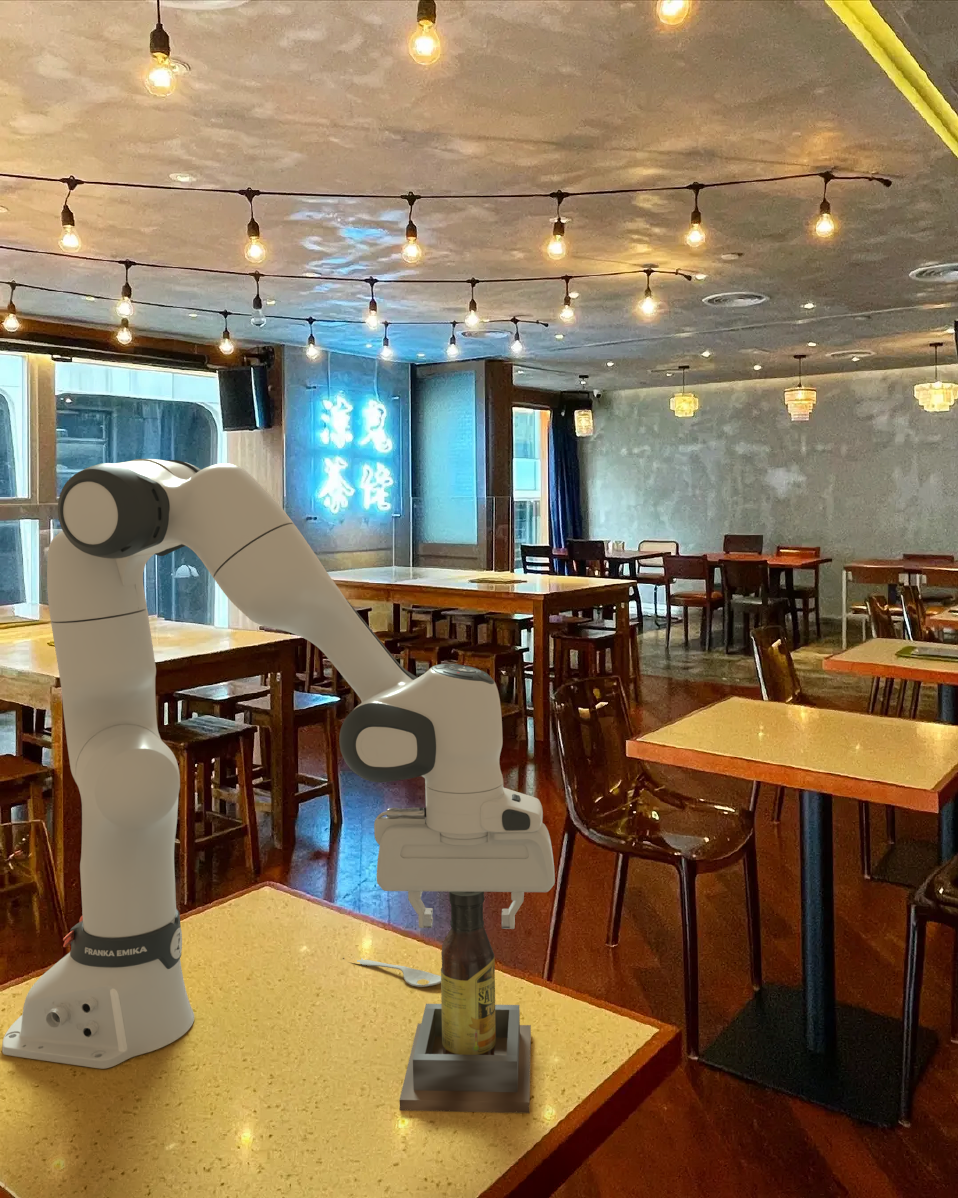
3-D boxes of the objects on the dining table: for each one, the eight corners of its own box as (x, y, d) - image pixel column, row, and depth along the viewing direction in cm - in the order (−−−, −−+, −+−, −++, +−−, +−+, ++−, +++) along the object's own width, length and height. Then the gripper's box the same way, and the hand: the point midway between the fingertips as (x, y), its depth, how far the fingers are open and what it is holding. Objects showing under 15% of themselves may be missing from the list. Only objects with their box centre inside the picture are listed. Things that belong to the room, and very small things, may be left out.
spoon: (434, 997, 131) (434, 986, 131) (320, 961, 142) (320, 950, 142) (452, 985, 134) (452, 974, 134) (340, 950, 146) (339, 940, 146)
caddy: (399, 1110, 105) (398, 1068, 105) (418, 1032, 121) (417, 996, 121) (529, 1113, 104) (528, 1071, 104) (530, 1034, 120) (530, 998, 120)
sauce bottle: (490, 1075, 110) (487, 903, 108) (436, 1069, 111) (432, 899, 109) (500, 1044, 116) (498, 881, 114) (449, 1039, 117) (446, 878, 116)
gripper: (368, 816, 108) (372, 937, 109) (554, 816, 107) (555, 939, 108) (378, 800, 114) (381, 914, 115) (553, 800, 113) (554, 916, 114)
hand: (467, 926), depth 111 cm, fingers open, 8 cm apart
